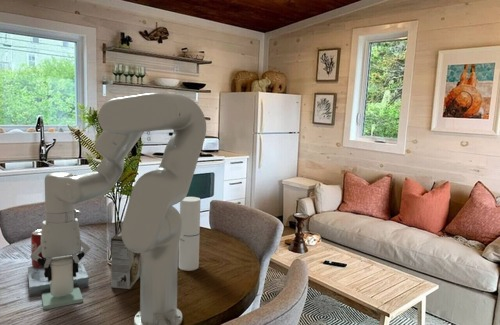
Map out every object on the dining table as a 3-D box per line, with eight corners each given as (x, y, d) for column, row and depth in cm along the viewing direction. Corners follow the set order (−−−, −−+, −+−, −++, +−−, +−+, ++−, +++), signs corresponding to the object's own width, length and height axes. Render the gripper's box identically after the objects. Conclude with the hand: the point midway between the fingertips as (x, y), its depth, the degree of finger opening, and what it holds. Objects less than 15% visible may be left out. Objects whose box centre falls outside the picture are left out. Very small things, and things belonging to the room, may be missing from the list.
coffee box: (121, 275, 129) (121, 229, 127) (140, 276, 129) (140, 230, 127) (110, 287, 120) (110, 238, 118) (130, 289, 120) (130, 239, 118)
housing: (88, 286, 120) (88, 277, 120) (29, 297, 112) (29, 287, 112) (80, 267, 134) (80, 259, 134) (28, 276, 126) (27, 267, 125)
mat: (82, 301, 111) (82, 298, 111) (43, 309, 106) (43, 306, 106) (78, 290, 118) (78, 287, 117) (41, 297, 112) (41, 293, 112)
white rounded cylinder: (74, 293, 110) (74, 260, 109) (51, 298, 107) (50, 264, 106) (72, 285, 115) (71, 253, 114) (49, 289, 112) (48, 256, 111)
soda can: (29, 269, 130) (28, 235, 129) (34, 261, 137) (33, 229, 136) (52, 268, 132) (51, 234, 131) (57, 260, 139) (56, 228, 138)
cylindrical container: (194, 271, 135) (196, 202, 132) (175, 269, 136) (176, 200, 133) (201, 264, 142) (203, 197, 139) (183, 261, 143) (184, 196, 140)
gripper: (90, 210, 116) (91, 267, 118) (24, 216, 107) (27, 277, 109) (95, 216, 110) (95, 276, 112) (25, 223, 101) (27, 288, 103)
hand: (61, 276), depth 111 cm, fingers closed on white rounded cylinder, 5 cm apart
